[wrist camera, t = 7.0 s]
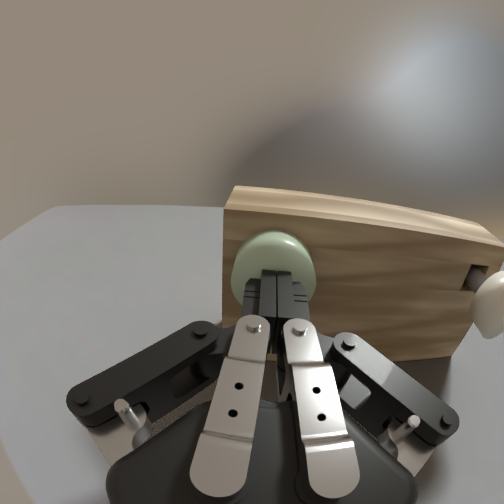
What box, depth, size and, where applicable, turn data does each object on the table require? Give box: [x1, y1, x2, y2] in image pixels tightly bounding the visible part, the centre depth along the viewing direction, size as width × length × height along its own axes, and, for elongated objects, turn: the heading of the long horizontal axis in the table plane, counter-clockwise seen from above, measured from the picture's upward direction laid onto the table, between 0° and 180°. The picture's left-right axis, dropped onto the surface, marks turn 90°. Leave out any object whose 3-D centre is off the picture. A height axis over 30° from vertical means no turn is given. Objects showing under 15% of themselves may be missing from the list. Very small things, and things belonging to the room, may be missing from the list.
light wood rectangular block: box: [222, 186, 504, 362], centre depth 19 cm, size 5×22×12 cm, turn 86°
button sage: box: [231, 230, 316, 305], centre depth 16 cm, size 6×4×4 cm
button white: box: [464, 264, 504, 339], centre depth 14 cm, size 6×4×4 cm
